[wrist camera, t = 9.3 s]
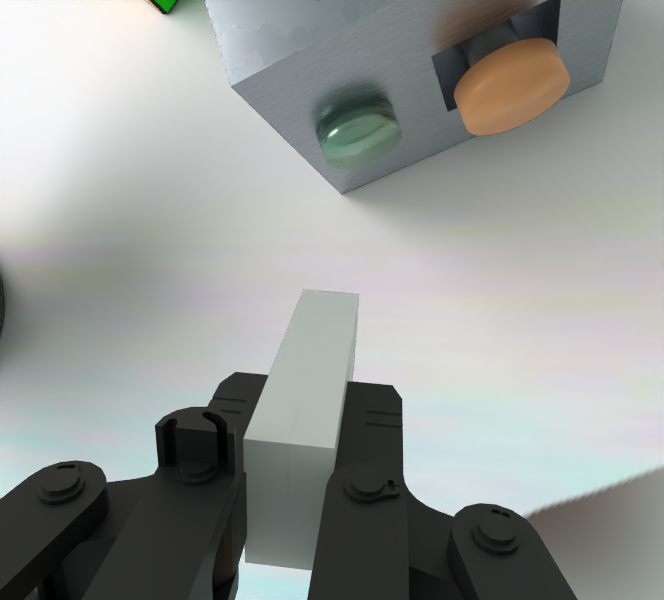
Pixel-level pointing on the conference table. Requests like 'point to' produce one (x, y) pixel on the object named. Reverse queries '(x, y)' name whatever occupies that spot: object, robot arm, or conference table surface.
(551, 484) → the conference table surface
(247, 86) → the box
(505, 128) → the disc
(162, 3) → the puzzle cube
